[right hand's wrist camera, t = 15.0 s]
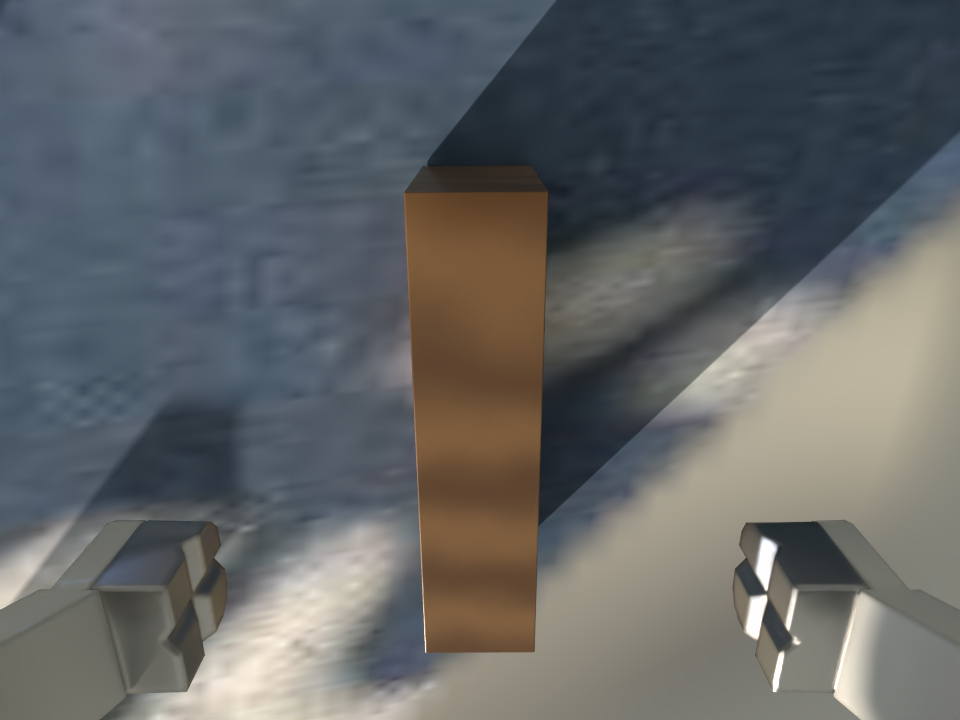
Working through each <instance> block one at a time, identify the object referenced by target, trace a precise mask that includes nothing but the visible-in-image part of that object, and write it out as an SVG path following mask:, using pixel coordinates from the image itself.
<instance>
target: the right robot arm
mask: <svg viewBox="0 0 960 720" xmlns="http://www.w3.org/2000/svg"><path fill="white" fill-rule="evenodd" d="M220 546H221V543H220V539H219V534H218V529H217V526H215V525H214V524H213V523H212V522H197V521H150V520H149V521H144V520H116V521H113V522H110V523H108V524H107V525H106V526H105V527H104V528H103V529H102V530H101V532H100V533H99V534H98V535H97V536H96V537H95V538H94V540H93V541H92V542H91V543H90V544H89V545H88V547H87V548H86V549H85V550H84V551H83V552H82V554H81V555H80V556H79V557H78V558H77V559H76V560H75V562H74V563H73V564H72V565H71V566H70V567H69V569H68V570H67V571H66V572H65V573H64V574H63V576H62V577H61V578H60V579H59V580H58V581H57V582H56V584H55V585H54V586H53V587H52V588H51V589H50V590H38V591H36V592H34V593H32V594H30V595H28V596H26V597H24V598H22V599H21V600H19V601H17V602H15V603H13V604H11V605H9V606H7V607H5V608H3V609H1V610H0V720H100V719H101V718H102V717H103V716H104V715H105V714H107V713H108V712H109V711H110V710H111V709H112V708H114V707H115V706H116V705H117V704H118V703H120V702H121V701H122V700H123V699H124V698H125V697H126V694H130V693H164V692H187V690H188V688H189V686H190V684H191V682H192V680H193V678H194V676H195V674H196V672H197V670H198V668H199V666H200V664H201V662H202V660H203V658H204V656H205V654H204V648H203V643H202V642H203V641H204V640H205V639H207V638H208V637H210V636H211V635H212V634H214V633H215V632H216V631H217V629H218V626H219V624H220V622H221V620H222V618H223V614H224V609H225V604H226V600H227V579H226V573H225V569H224V568H223V567H222V566H221V565H220V564H219V563H218V562H217V561H216V560H215V559H214V557H215V555H216V553H217V551H218V549H219V547H220ZM739 546H740V547H741V549H742V551H743V553H744V555H745V556H746V559H745V560H744V561H743V562H742V563H741V564H740V565H739V566H738V567H737V568H736V569H735V573H734V581H733V597H734V607H735V610H736V614H737V617H738V620H739V622H740V624H741V627H742V629H743V631H744V632H745V633H746V634H748V635H749V636H750V637H752V638H753V639H755V640H756V641H757V642H758V643H757V648H756V654H755V656H756V658H757V660H758V662H759V664H760V666H761V668H762V670H763V672H764V674H765V676H766V678H767V680H768V682H769V684H770V686H771V688H772V690H773V692H795V693H830V694H834V697H835V698H836V699H837V700H838V701H840V702H841V703H842V704H843V705H844V706H846V707H847V708H848V709H849V710H850V711H851V712H853V713H854V714H855V715H856V716H857V717H858V718H860V719H861V720H960V610H959V609H957V608H955V607H953V606H951V605H949V604H947V603H945V602H943V601H941V600H939V599H937V598H935V597H934V596H932V595H930V594H928V593H926V592H924V591H922V590H910V589H909V588H908V587H907V586H906V585H905V584H904V582H903V581H902V580H901V579H900V578H899V577H898V576H897V574H896V573H895V572H894V571H893V570H892V569H891V568H890V566H889V565H888V564H887V563H886V562H885V561H884V559H883V558H882V557H881V556H880V555H879V554H878V552H877V551H876V550H875V549H874V548H873V547H872V545H871V544H870V543H869V542H868V541H867V540H866V539H865V537H864V536H863V535H862V534H861V533H860V532H859V530H858V529H857V528H856V527H855V526H854V525H853V524H852V523H850V522H848V521H846V520H826V521H811V522H756V523H755V522H754V523H746V524H745V526H744V528H743V530H742V532H741V538H740V543H739Z"/></svg>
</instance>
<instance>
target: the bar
mask: <svg viewBox="0 0 960 720" xmlns="http://www.w3.org/2000/svg"><path fill="white" fill-rule="evenodd" d="M548 200H549V192H548V190H547V189H546V187H545V186H544V184H543V183H542V181H541V179H540V178H539V176H538V175H537V173H536V172H535V170H534V169H533V167H532V166H423V167H422V168H421V170H420V171H419V172H418V174H417V175H416V177H415V178H414V179H413V181H412V182H411V184H410V185H409V186H408V188H407V189H406V191H405V192H404V206H405V227H406V249H407V270H408V291H409V313H410V334H411V356H412V377H413V398H414V420H415V441H416V462H417V484H418V505H419V527H420V548H421V569H422V591H423V612H424V634H425V652H426V653H463V652H534V651H535V619H536V587H537V555H538V522H539V490H540V458H541V426H542V393H543V361H544V329H545V297H546V265H547V232H548Z"/></svg>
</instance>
